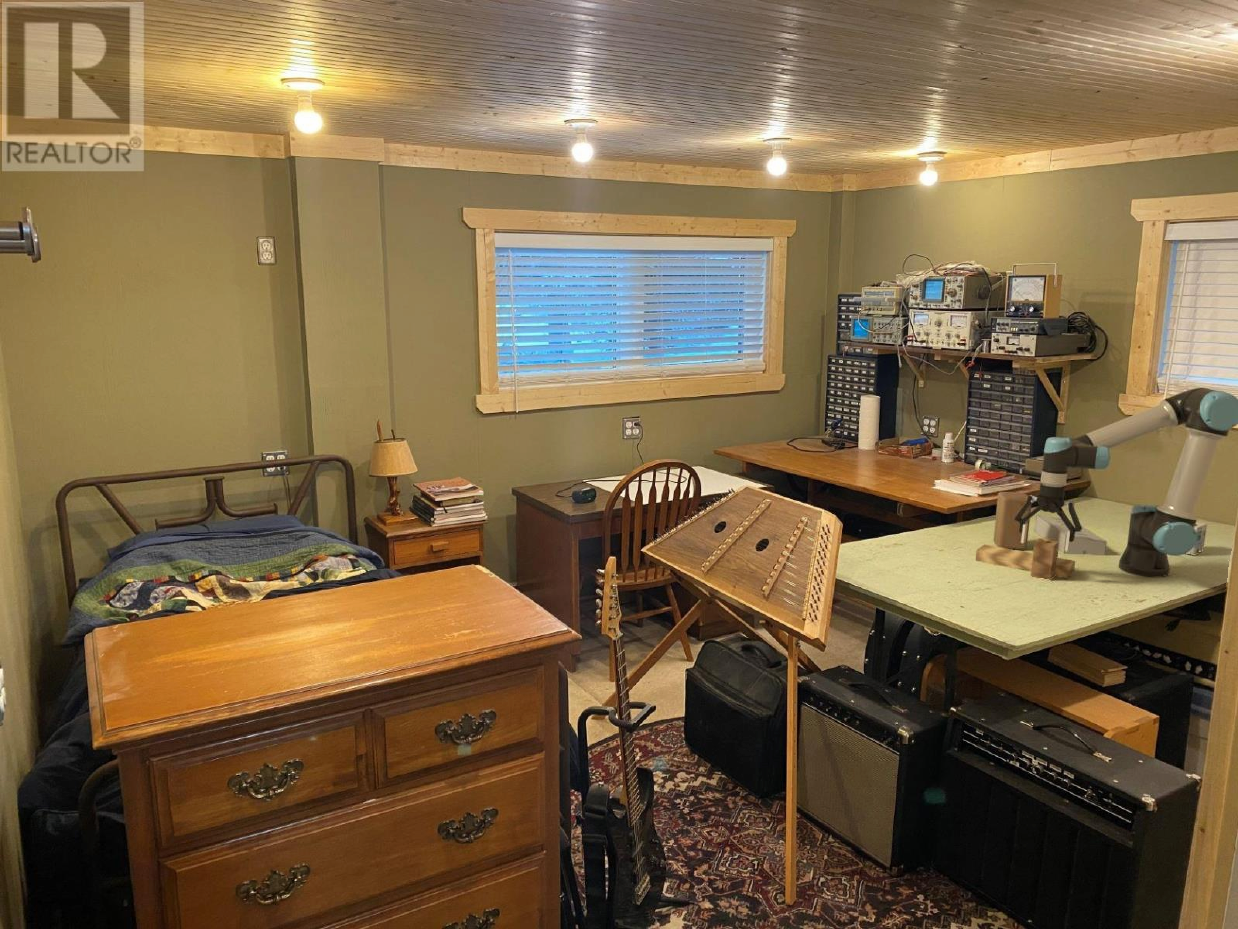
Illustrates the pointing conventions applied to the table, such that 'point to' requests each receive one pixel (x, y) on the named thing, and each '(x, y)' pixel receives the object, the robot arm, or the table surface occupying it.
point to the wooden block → (1010, 520)
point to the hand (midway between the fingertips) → (1044, 546)
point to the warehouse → (1058, 532)
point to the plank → (1019, 559)
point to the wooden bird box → (1044, 558)
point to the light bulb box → (1199, 538)
